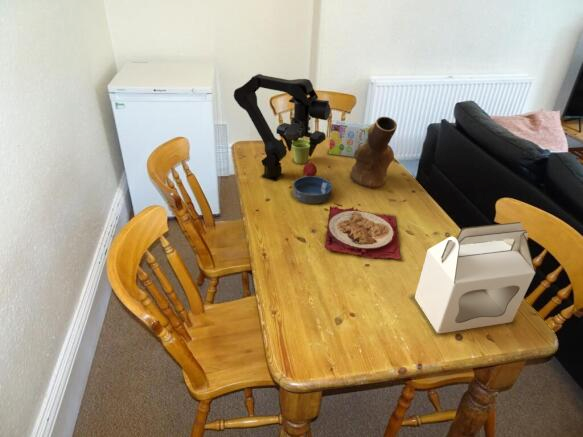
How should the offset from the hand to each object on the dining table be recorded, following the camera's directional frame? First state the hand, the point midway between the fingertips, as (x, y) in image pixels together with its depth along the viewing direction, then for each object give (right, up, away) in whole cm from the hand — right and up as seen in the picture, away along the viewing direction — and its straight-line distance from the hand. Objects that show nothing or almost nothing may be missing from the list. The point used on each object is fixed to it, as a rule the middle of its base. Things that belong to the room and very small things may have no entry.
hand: (299, 153), depth 161 cm
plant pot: (+1, 0, +24) cm, 24 cm away
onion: (+4, -9, +11) cm, 15 cm away
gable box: (+43, -50, -49) cm, 82 cm away
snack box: (+25, +4, +31) cm, 40 cm away
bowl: (+5, -16, 0) cm, 17 cm away
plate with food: (+21, -31, -21) cm, 42 cm away
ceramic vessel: (+29, -11, +9) cm, 32 cm away
